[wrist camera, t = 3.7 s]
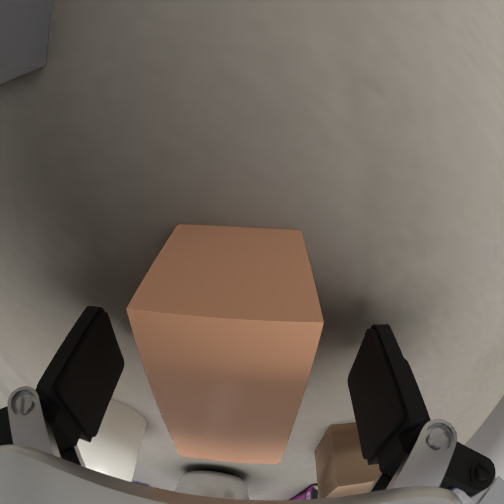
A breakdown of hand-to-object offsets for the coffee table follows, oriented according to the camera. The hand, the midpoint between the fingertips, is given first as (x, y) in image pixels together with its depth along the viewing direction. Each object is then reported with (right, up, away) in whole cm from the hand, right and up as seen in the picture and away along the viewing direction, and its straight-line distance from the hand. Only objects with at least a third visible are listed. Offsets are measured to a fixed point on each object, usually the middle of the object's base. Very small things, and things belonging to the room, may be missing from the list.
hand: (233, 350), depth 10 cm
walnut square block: (+8, -9, +7) cm, 14 cm away
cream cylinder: (-8, -8, +6) cm, 13 cm away
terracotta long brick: (0, +1, +2) cm, 2 cm away
